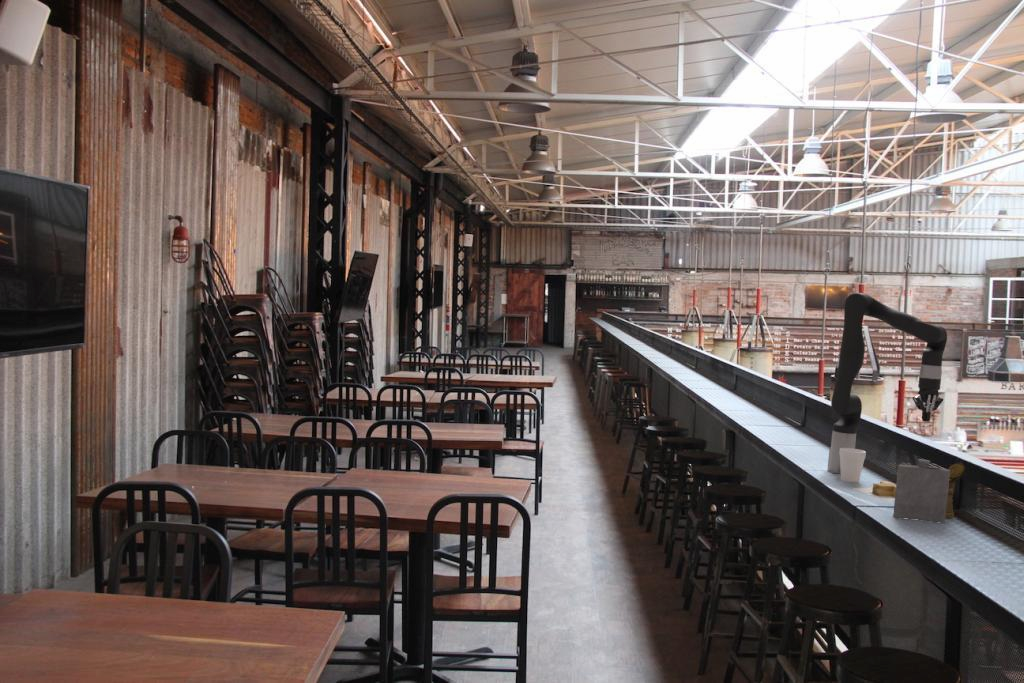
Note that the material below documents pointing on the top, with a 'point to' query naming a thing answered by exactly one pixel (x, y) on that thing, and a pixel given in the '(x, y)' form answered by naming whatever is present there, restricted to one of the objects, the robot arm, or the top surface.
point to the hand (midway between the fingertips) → (925, 421)
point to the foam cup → (851, 464)
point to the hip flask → (921, 492)
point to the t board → (869, 492)
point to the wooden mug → (953, 485)
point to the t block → (884, 488)
